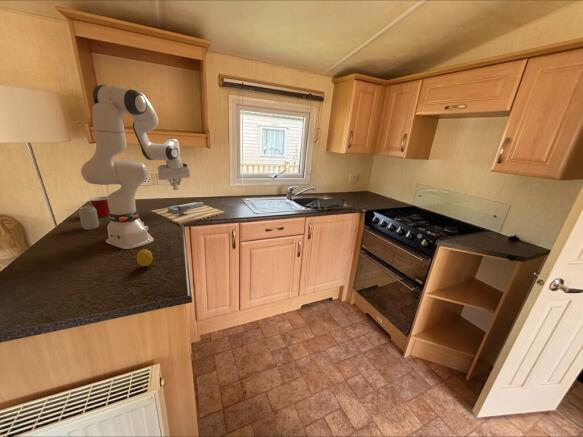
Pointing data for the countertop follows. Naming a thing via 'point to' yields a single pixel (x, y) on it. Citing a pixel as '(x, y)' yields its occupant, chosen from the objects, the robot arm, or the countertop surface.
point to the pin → (175, 184)
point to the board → (189, 214)
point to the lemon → (144, 257)
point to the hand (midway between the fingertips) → (175, 185)
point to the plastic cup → (101, 206)
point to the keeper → (183, 209)
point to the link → (175, 208)
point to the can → (88, 217)
